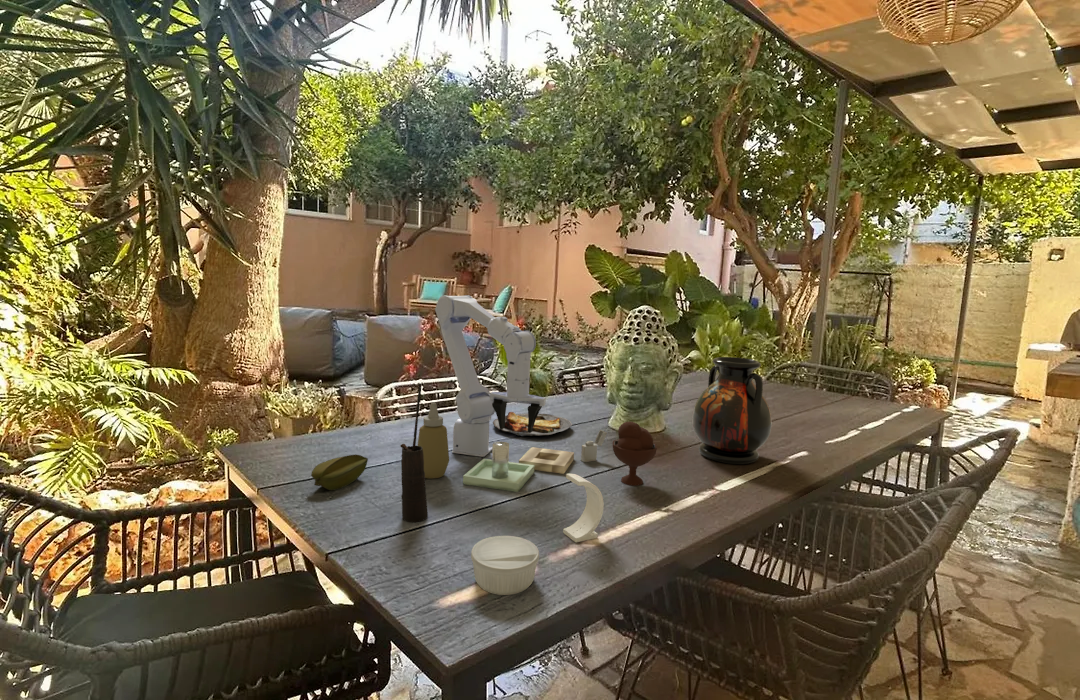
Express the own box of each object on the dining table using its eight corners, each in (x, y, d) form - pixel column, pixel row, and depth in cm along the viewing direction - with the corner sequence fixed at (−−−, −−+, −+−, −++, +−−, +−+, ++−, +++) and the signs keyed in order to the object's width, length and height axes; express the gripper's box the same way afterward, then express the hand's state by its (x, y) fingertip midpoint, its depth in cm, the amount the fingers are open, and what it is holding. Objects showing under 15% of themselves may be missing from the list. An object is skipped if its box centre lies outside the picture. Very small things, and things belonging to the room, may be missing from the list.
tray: (462, 484, 138) (463, 475, 137) (483, 466, 151) (483, 458, 150) (518, 492, 134) (518, 483, 134) (534, 472, 147) (534, 465, 147)
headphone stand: (563, 532, 115) (566, 473, 113) (588, 527, 117) (592, 469, 116) (575, 542, 111) (579, 481, 109) (601, 536, 113) (605, 477, 112)
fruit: (314, 477, 138) (314, 450, 137) (367, 474, 141) (368, 448, 140) (310, 496, 127) (310, 466, 126) (368, 492, 130) (368, 463, 130)
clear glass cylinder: (489, 477, 141) (489, 445, 140) (495, 471, 145) (496, 440, 144) (504, 479, 140) (505, 447, 139) (510, 474, 144) (511, 442, 143)
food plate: (481, 433, 180) (482, 422, 180) (508, 416, 202) (508, 406, 202) (559, 444, 173) (560, 432, 173) (578, 425, 195) (578, 414, 195)
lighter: (584, 462, 157) (585, 433, 156) (580, 460, 159) (582, 431, 157) (605, 458, 161) (607, 430, 160) (601, 457, 162) (603, 429, 161)
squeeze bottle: (454, 472, 145) (456, 401, 143) (438, 483, 138) (440, 408, 135) (426, 467, 148) (427, 397, 145) (408, 477, 140) (409, 404, 138)
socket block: (518, 467, 150) (518, 460, 150) (531, 454, 162) (531, 447, 162) (563, 473, 147) (564, 466, 147) (573, 459, 159) (574, 452, 159)
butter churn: (377, 514, 119) (377, 379, 115) (417, 502, 126) (419, 374, 122) (401, 530, 113) (402, 387, 109) (442, 517, 119) (445, 382, 115)
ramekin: (503, 608, 88) (505, 576, 88) (455, 580, 96) (456, 550, 95) (552, 581, 97) (553, 551, 96) (504, 557, 104) (505, 529, 103)
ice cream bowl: (627, 492, 137) (632, 430, 135) (601, 476, 147) (605, 418, 144) (663, 486, 142) (668, 426, 140) (635, 471, 151) (639, 415, 149)
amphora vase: (673, 449, 172) (681, 355, 168) (728, 442, 182) (736, 353, 178) (727, 473, 153) (737, 368, 149) (785, 463, 163) (795, 365, 159)
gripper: (486, 378, 148) (484, 430, 150) (541, 384, 144) (538, 437, 146) (496, 373, 154) (494, 423, 156) (548, 379, 150) (546, 430, 152)
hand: (516, 430), depth 151 cm, fingers open, 7 cm apart
